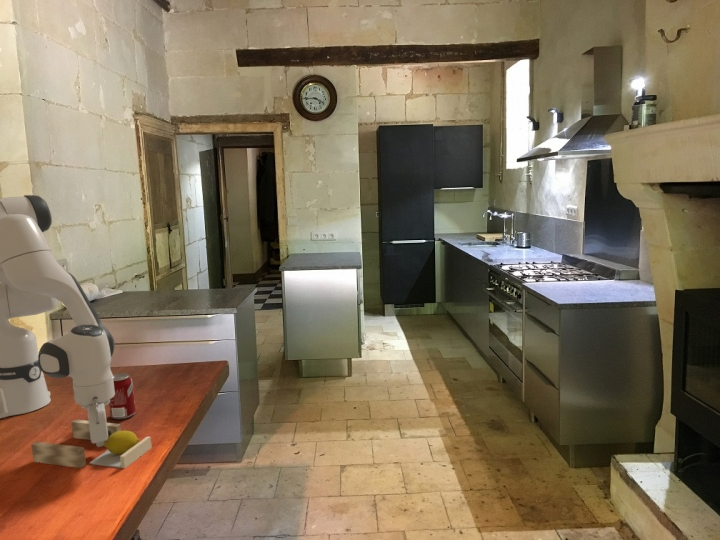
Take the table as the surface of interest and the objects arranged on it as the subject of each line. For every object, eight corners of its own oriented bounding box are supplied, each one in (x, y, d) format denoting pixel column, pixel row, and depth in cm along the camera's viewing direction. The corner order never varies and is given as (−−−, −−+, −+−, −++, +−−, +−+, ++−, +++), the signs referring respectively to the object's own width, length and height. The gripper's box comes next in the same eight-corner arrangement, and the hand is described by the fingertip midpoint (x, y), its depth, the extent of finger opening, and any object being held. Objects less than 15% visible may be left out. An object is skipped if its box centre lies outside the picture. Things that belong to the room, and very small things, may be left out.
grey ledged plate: (89, 463, 127) (88, 452, 126) (118, 444, 136) (117, 433, 136) (124, 468, 124) (123, 456, 124) (151, 447, 134) (150, 436, 133)
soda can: (126, 421, 149) (122, 381, 147) (105, 420, 151) (100, 380, 149) (140, 411, 156) (136, 372, 154) (120, 410, 157) (116, 371, 155)
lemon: (104, 428, 131) (139, 424, 133) (106, 447, 133) (140, 443, 135) (101, 441, 126) (137, 437, 128) (103, 461, 128) (138, 456, 130)
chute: (33, 461, 128) (31, 444, 128) (77, 435, 142) (75, 419, 141) (81, 468, 125) (79, 450, 124) (121, 440, 138) (120, 424, 137)
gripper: (111, 403, 121) (117, 459, 123) (106, 376, 139) (112, 425, 141) (80, 409, 118) (87, 466, 120) (79, 380, 136) (85, 431, 138)
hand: (100, 444), depth 131 cm, fingers closed
